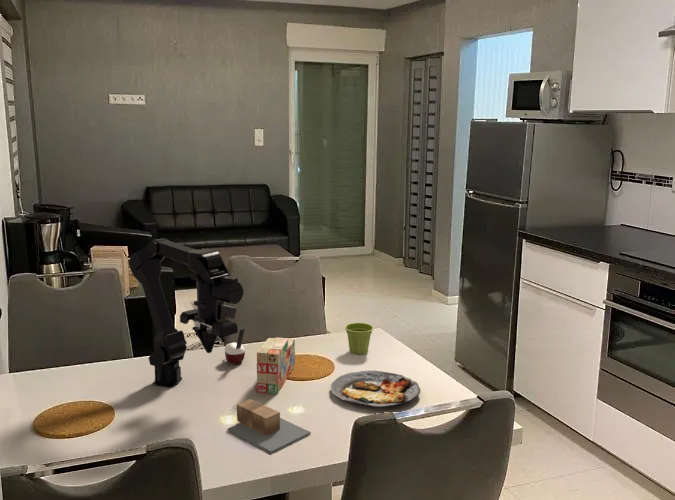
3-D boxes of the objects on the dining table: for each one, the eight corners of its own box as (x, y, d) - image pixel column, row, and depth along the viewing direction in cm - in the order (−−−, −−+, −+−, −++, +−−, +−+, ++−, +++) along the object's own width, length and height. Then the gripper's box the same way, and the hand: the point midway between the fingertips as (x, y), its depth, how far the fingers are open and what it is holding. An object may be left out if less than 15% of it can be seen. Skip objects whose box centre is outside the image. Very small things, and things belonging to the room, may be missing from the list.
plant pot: (363, 359, 207) (364, 333, 206) (339, 352, 212) (339, 328, 211) (377, 350, 215) (378, 326, 213) (353, 345, 220) (354, 321, 218)
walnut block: (237, 404, 161) (266, 418, 154) (250, 398, 164) (279, 412, 157) (237, 420, 162) (266, 435, 155) (250, 415, 165) (279, 429, 158)
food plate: (429, 386, 187) (430, 374, 186) (404, 419, 166) (404, 406, 166) (351, 372, 197) (351, 362, 197) (318, 402, 177) (318, 390, 176)
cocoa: (224, 359, 206) (222, 323, 204) (243, 357, 207) (241, 321, 205) (227, 369, 197) (225, 331, 195) (247, 366, 198) (245, 329, 196)
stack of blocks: (275, 365, 201) (275, 327, 199) (295, 366, 200) (295, 329, 198) (256, 392, 180) (256, 351, 178) (278, 394, 180) (278, 353, 177)
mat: (227, 430, 158) (227, 428, 158) (266, 413, 167) (266, 411, 167) (271, 453, 148) (271, 451, 147) (310, 434, 157) (310, 431, 157)
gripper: (253, 298, 171) (254, 353, 174) (211, 285, 183) (212, 337, 186) (220, 306, 163) (221, 364, 166) (177, 292, 175) (179, 346, 178)
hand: (209, 352), depth 174 cm, fingers closed
